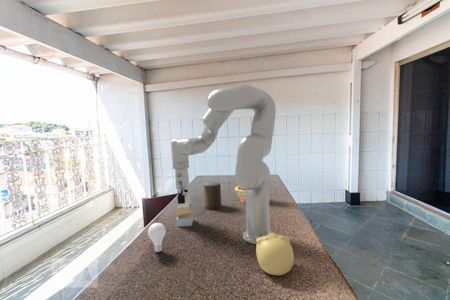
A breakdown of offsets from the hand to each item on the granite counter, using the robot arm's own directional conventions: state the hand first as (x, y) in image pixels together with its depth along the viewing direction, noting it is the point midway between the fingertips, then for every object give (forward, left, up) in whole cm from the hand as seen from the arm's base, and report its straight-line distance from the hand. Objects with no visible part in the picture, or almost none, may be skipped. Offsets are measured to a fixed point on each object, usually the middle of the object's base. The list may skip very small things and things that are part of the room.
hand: (183, 200), depth 111 cm
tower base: (0, 0, -12) cm, 12 cm away
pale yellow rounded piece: (-39, -35, -12) cm, 54 cm away
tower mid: (0, 0, -8) cm, 8 cm away
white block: (0, 0, -3) cm, 3 cm away
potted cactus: (+30, -34, -12) cm, 47 cm away
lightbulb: (-25, +6, -12) cm, 28 cm away
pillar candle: (+22, -13, -12) cm, 28 cm away
